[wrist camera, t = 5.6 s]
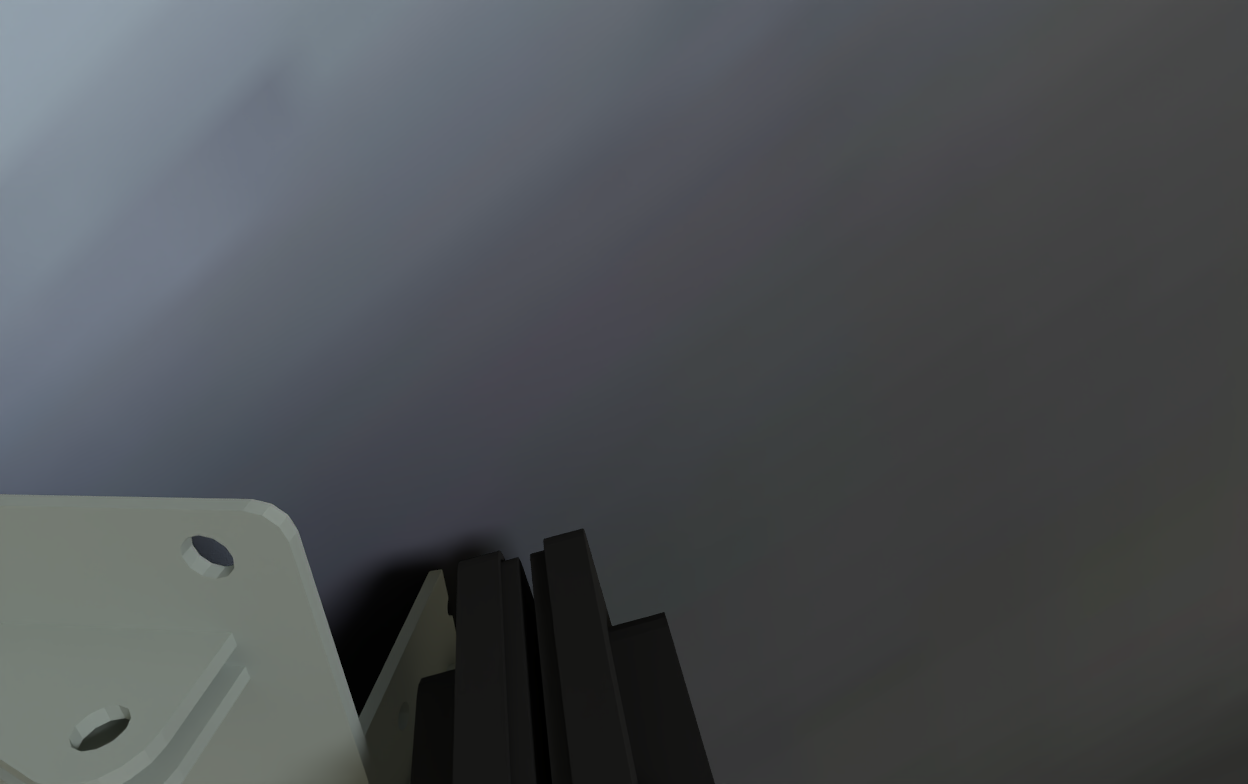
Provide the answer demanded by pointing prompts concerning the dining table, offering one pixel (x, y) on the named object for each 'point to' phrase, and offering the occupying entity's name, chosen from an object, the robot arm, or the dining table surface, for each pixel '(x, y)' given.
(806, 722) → the dining table surface
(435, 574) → the metal bracket
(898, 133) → the dining table surface
